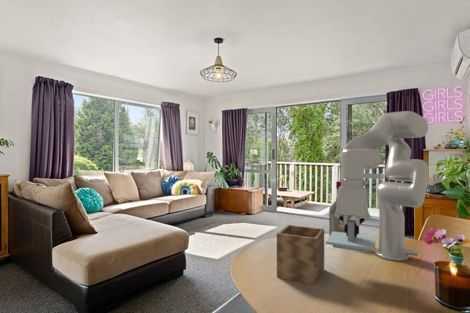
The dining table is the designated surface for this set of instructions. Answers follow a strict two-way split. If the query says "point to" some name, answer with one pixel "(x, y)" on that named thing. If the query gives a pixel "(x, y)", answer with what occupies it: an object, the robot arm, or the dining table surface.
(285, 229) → the crate
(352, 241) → the lid
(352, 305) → the dining table surface
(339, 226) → the liquor
